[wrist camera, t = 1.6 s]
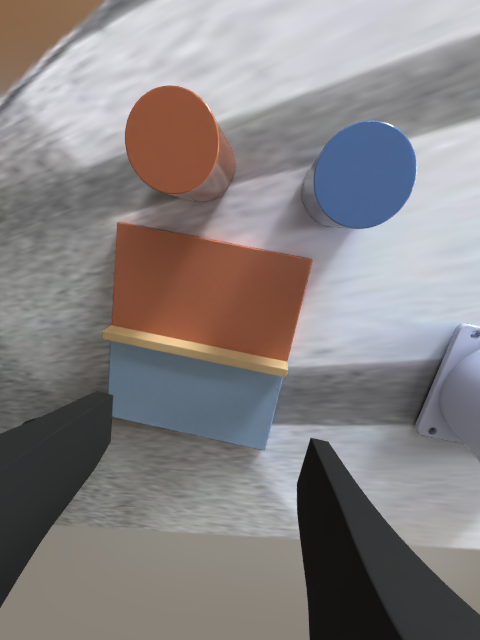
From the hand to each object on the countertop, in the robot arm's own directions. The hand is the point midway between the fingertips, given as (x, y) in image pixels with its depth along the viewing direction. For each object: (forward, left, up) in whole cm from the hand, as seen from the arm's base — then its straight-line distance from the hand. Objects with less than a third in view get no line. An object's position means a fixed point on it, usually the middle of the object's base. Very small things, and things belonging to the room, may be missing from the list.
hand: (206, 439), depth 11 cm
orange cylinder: (+4, -10, -10) cm, 15 cm away
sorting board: (+2, +1, -10) cm, 11 cm away
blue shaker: (-4, -10, -10) cm, 15 cm away
